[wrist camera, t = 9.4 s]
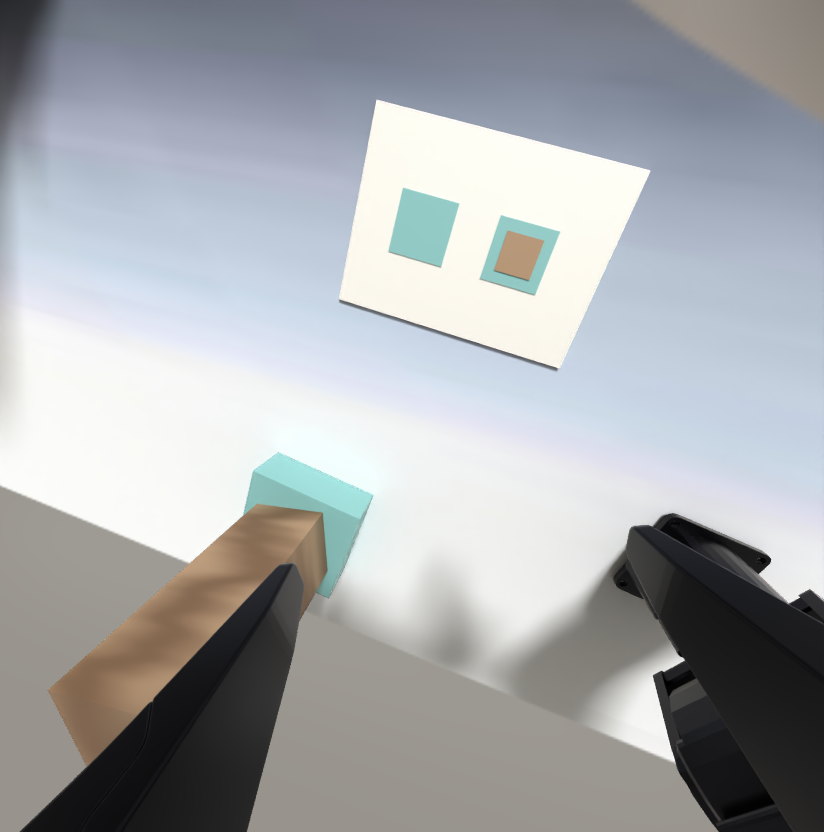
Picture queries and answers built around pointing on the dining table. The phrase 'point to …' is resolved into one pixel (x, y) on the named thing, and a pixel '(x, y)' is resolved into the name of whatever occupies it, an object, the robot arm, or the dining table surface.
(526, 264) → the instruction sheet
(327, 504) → the base brick
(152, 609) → the column brick
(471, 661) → the dining table surface
